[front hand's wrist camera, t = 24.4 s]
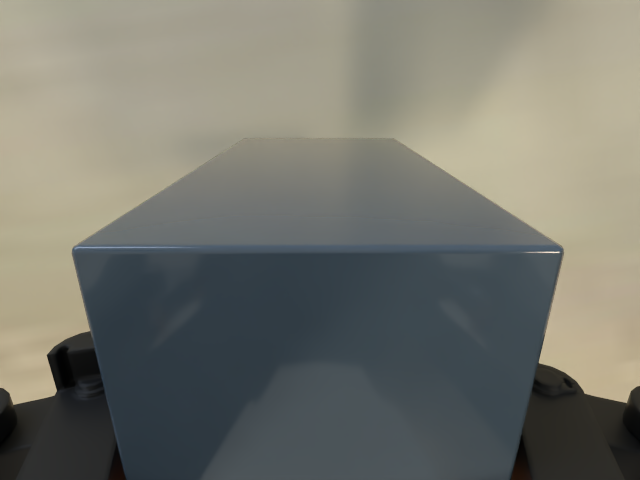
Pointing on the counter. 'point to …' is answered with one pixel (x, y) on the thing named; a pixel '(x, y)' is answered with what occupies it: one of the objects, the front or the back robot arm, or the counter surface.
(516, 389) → the brick
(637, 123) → the counter surface
